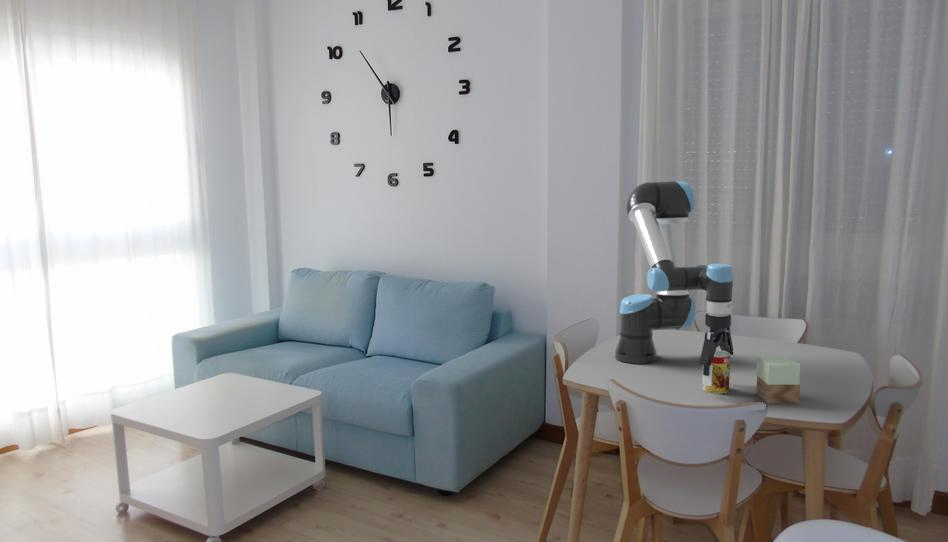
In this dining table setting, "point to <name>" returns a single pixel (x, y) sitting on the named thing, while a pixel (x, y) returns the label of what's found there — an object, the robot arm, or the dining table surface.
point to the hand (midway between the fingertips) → (716, 379)
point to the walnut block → (778, 392)
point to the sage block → (778, 370)
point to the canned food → (719, 373)
